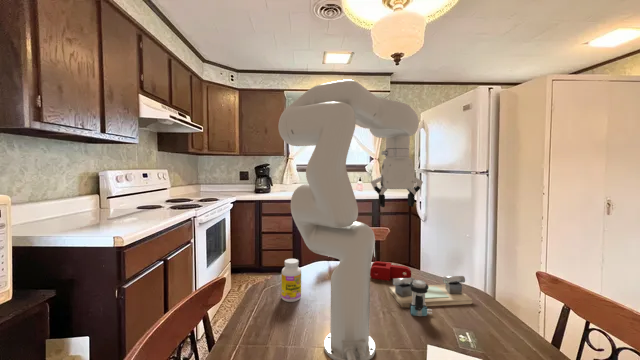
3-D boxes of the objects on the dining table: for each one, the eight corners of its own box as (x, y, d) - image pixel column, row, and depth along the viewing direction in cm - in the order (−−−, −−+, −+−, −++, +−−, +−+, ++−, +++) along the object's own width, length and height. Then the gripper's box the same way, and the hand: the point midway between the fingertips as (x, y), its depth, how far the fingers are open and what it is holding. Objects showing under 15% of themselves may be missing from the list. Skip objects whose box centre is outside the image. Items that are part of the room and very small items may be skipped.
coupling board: (472, 303, 93) (472, 298, 93) (402, 307, 90) (402, 301, 90) (451, 288, 105) (451, 283, 105) (388, 290, 102) (388, 286, 102)
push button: (429, 310, 89) (429, 278, 88) (434, 319, 83) (435, 286, 83) (407, 309, 89) (408, 278, 89) (411, 318, 84) (412, 285, 83)
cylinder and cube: (467, 294, 97) (467, 278, 96) (396, 297, 94) (396, 281, 94) (458, 288, 101) (459, 273, 101) (391, 291, 98) (391, 276, 98)
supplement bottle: (282, 303, 92) (282, 265, 92) (280, 294, 99) (280, 258, 98) (303, 301, 94) (303, 263, 93) (299, 292, 100) (299, 256, 100)
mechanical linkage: (369, 278, 114) (369, 266, 114) (371, 272, 121) (372, 260, 120) (410, 284, 109) (411, 271, 109) (411, 277, 116) (411, 265, 115)
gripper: (374, 154, 89) (374, 208, 90) (427, 154, 90) (426, 207, 91) (368, 154, 96) (367, 205, 97) (417, 154, 98) (416, 204, 99)
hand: (396, 206), depth 94 cm, fingers open, 9 cm apart
